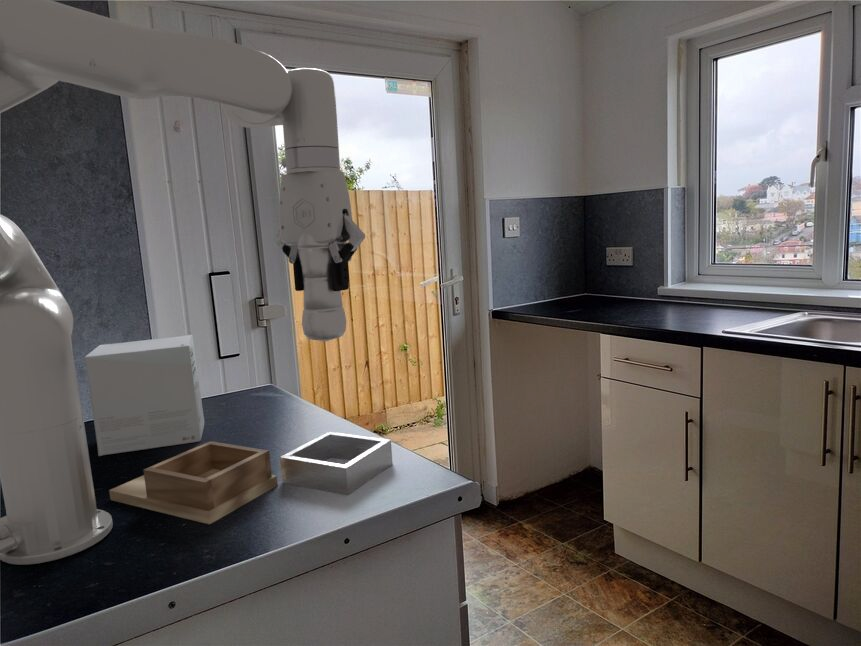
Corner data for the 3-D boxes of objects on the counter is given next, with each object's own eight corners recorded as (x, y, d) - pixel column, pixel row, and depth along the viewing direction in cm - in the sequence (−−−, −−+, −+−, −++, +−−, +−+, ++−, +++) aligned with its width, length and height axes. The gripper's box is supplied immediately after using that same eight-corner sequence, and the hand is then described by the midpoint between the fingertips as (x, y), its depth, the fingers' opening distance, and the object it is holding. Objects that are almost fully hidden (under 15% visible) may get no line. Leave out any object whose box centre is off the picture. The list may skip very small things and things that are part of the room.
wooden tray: (209, 524, 81) (204, 484, 80) (110, 499, 90) (105, 463, 89) (277, 485, 92) (274, 449, 91) (183, 467, 102) (179, 434, 101)
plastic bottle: (294, 344, 90) (283, 203, 87) (316, 335, 96) (307, 204, 93) (335, 344, 88) (325, 200, 85) (354, 336, 94) (346, 201, 91)
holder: (348, 495, 87) (346, 468, 87) (282, 482, 93) (279, 457, 92) (392, 464, 98) (390, 439, 97) (330, 454, 104) (328, 431, 103)
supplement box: (205, 421, 126) (194, 333, 123) (202, 442, 113) (190, 345, 111) (111, 434, 121) (98, 343, 118) (96, 457, 108) (82, 356, 106)
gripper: (248, 166, 89) (259, 292, 92) (347, 155, 81) (356, 293, 84) (283, 170, 95) (292, 287, 98) (378, 159, 87) (385, 287, 90)
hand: (321, 289), depth 91 cm, fingers closed on plastic bottle, 6 cm apart
